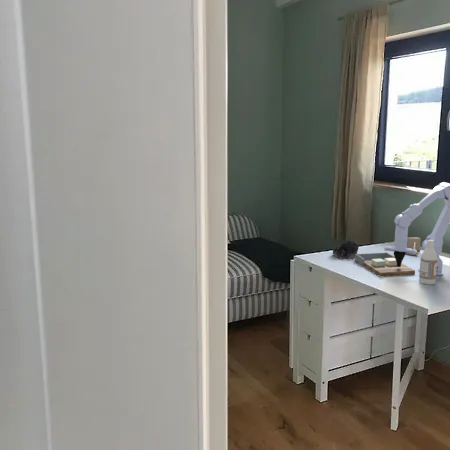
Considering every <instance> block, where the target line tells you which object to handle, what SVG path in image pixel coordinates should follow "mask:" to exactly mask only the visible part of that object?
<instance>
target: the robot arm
mask: <svg viewBox="0 0 450 450" xmlns="http://www.w3.org/2000/svg"><path fill="white" fill-rule="evenodd" d="M438 199H443V201H444V203H445V204H444V207H443V208H442V210H441V212H440V215H439V217H438V219H437V221H436V223H435V225H434V226H433V229H432V232H431V233H430V234H428V235H427V236H426V238H425V240H423V241H422V243H421V248H422V250H423V251H424V250H425V249H426V247H427V240H434V247H433V249H434V250H435V252H436V254H437V268H436V276H443V275H444V273H443V263H444V262H443V260H442V259H441V258H440V255H441V254H442V252H443V245H444V239H443V237H444V236H445V234H446V232H447V230H448V227H449V226H450V183H449V182H446V181H443V182H440V183H439V184H438V185H436V186H434V188H433V189H432V190H431V191H430V192H429V193H428V194H426V195H425V197H423V198H422V199H420V201H419V202H418V203H413V204H410V205H409V207H408V208H407V209H405V210H404V211H402V212H401V213H399V214H397V215H396V216H395V218H394V219H393V222H394V224H395V232H394V245H393V246H388V245H385V246H384V249H383V251H384V252H393V256H395V259H396V262H397V267H401V263H402V264H403V260H404V259H405V256H406V255H407V254H406V253H410V254H416V251H417V250H415V249H409V248H407V238H409V237H408V233H409V227H410V226H411V224H412V222H413V221H414V220H415V219H416V218H418V217H419V216H420V215H421V214H422V213H423V210H424V208H426V207H427V206H429V205H430V204H432V203H433V202H434V201H436V200H438ZM417 270H418V271H419V272H420V268H417Z"/></svg>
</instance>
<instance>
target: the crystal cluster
mask: <svg viewBox="0 0 450 450" xmlns="http://www.w3.org/2000/svg"><path fill="white" fill-rule="evenodd" d="M359 247H360V246H359V243H358V242H357V241H354V240H352V239H348V240H346V241H344V242H343V243H341V244H340V245H337V246H336V247H335V248H334V249H332V255H333V256H334V255H335V256H336V258H337V257H339V258H340V259H346V258H347V259H348V258H350V259H351V260H353V259H355V254H358V250H359ZM335 256H334V257H335ZM339 258H338V259H339ZM352 258H353V259H352Z"/></svg>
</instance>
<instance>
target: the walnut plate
mask: <svg viewBox="0 0 450 450" xmlns="http://www.w3.org/2000/svg"><path fill="white" fill-rule="evenodd" d="M362 266H363V267H364V266H365V267H364V268H366V269H367V268H368V269H367V270H369V269H370V270H371V272H372V273H374V274H376V275H377V276H378V275H379V277H380V276H384V277H395V276H414V275H415V274H416V270H415V269H413V268H412V267H410V266H408V265H406V264H404V263H403V262H402V263H401V267H397V265H395V266H388V265H387V264H385V266H379V267H376V266H374V265H372V264H371V262H364V263H363V265H362ZM370 270H369V271H370Z"/></svg>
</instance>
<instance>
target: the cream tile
mask: <svg viewBox="0 0 450 450" xmlns="http://www.w3.org/2000/svg"><path fill="white" fill-rule="evenodd" d="M384 261H386V264H387V265H388V266H395V265H397V262H396V259H395V258H385V259H384Z"/></svg>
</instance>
